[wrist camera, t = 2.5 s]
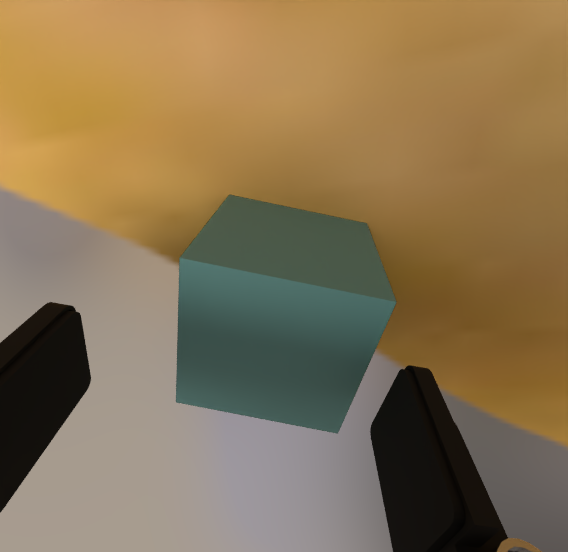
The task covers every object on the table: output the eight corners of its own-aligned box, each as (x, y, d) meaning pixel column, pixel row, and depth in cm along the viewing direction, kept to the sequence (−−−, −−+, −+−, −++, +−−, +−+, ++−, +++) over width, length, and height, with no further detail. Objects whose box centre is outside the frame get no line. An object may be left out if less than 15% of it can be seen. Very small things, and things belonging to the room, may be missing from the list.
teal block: (366, 222, 14) (396, 302, 9) (330, 328, 17) (338, 433, 12) (229, 194, 14) (179, 257, 9) (218, 306, 17) (175, 402, 12)
